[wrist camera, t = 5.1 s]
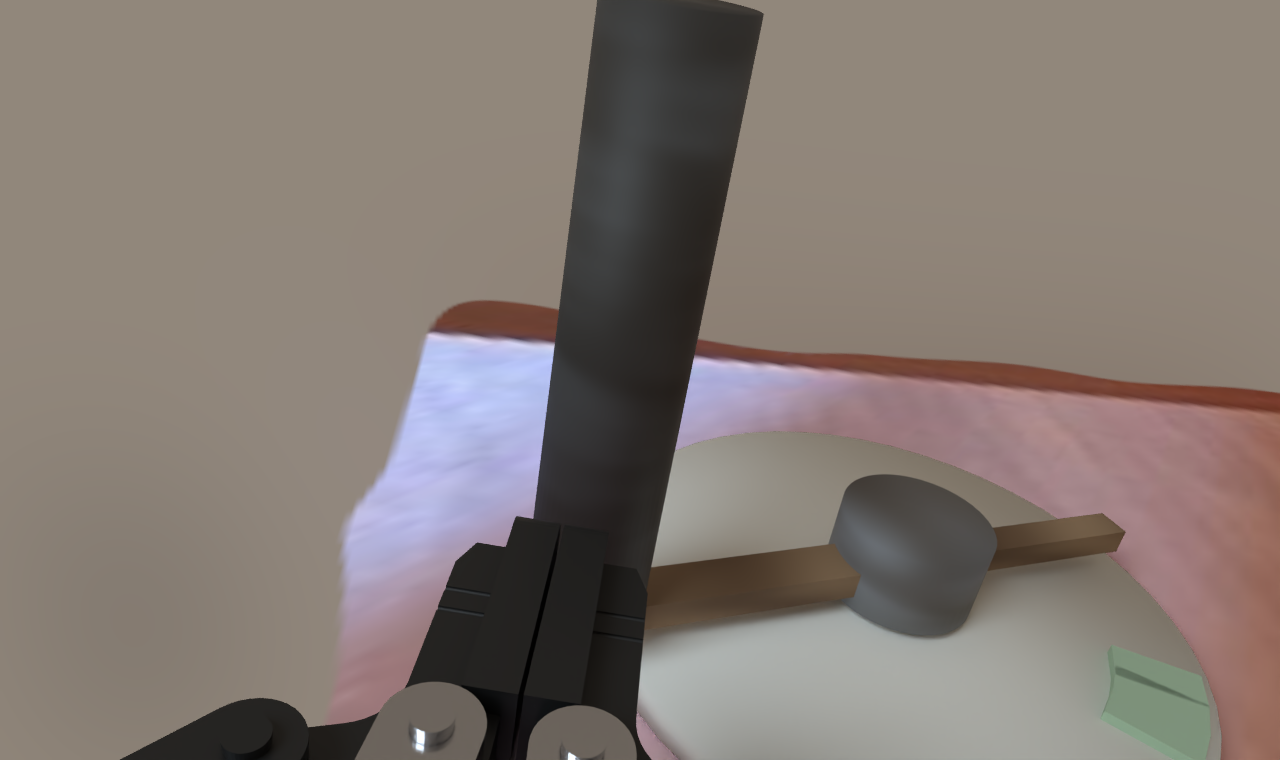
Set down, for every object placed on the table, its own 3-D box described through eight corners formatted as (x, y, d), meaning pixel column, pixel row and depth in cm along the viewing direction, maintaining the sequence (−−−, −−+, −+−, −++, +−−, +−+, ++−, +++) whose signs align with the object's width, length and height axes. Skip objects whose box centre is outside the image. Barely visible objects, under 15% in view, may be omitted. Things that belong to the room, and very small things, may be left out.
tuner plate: (808, 409, 39) (815, 383, 38) (1269, 657, 29) (1289, 627, 28) (465, 569, 27) (468, 534, 26) (1061, 1103, 16) (1088, 1065, 16)
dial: (1052, 512, 32) (1250, 68, 25) (1152, 595, 29) (1416, 106, 22) (501, 581, 24) (567, -27, 17) (545, 707, 21) (649, 8, 14)
